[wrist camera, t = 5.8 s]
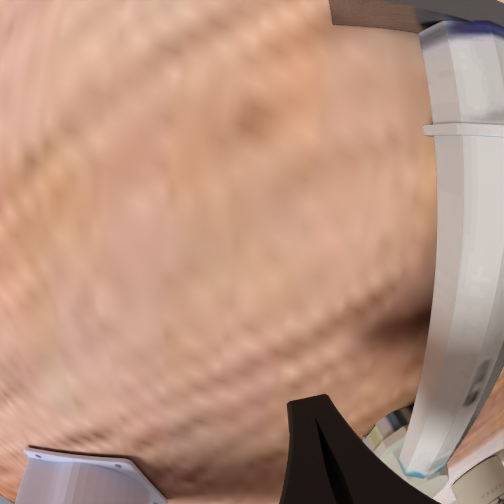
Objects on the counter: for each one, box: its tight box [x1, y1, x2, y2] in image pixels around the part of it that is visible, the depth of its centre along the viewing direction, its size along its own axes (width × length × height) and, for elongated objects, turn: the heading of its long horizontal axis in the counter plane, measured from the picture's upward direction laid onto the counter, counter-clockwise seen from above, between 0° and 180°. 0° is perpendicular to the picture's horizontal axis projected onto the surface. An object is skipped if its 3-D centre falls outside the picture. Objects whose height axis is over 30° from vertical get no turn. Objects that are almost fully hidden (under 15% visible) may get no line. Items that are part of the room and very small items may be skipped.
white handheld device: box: [362, 20, 504, 498], centre depth 12 cm, size 5×7×25 cm
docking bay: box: [329, 0, 504, 464], centre depth 13 cm, size 8×31×3 cm, turn 7°
